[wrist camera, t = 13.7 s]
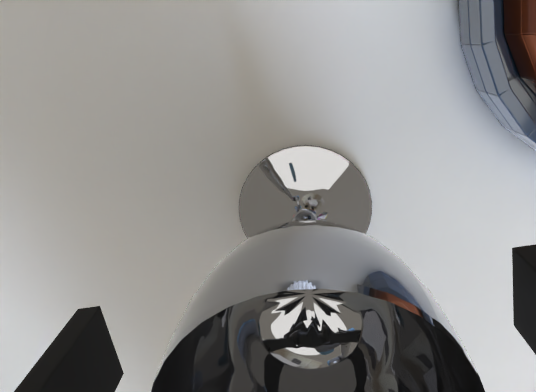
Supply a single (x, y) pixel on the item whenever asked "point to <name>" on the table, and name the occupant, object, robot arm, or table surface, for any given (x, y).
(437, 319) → the wine glass
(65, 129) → the table surface
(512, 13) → the small bowl
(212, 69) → the table surface
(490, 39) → the serving bowl
